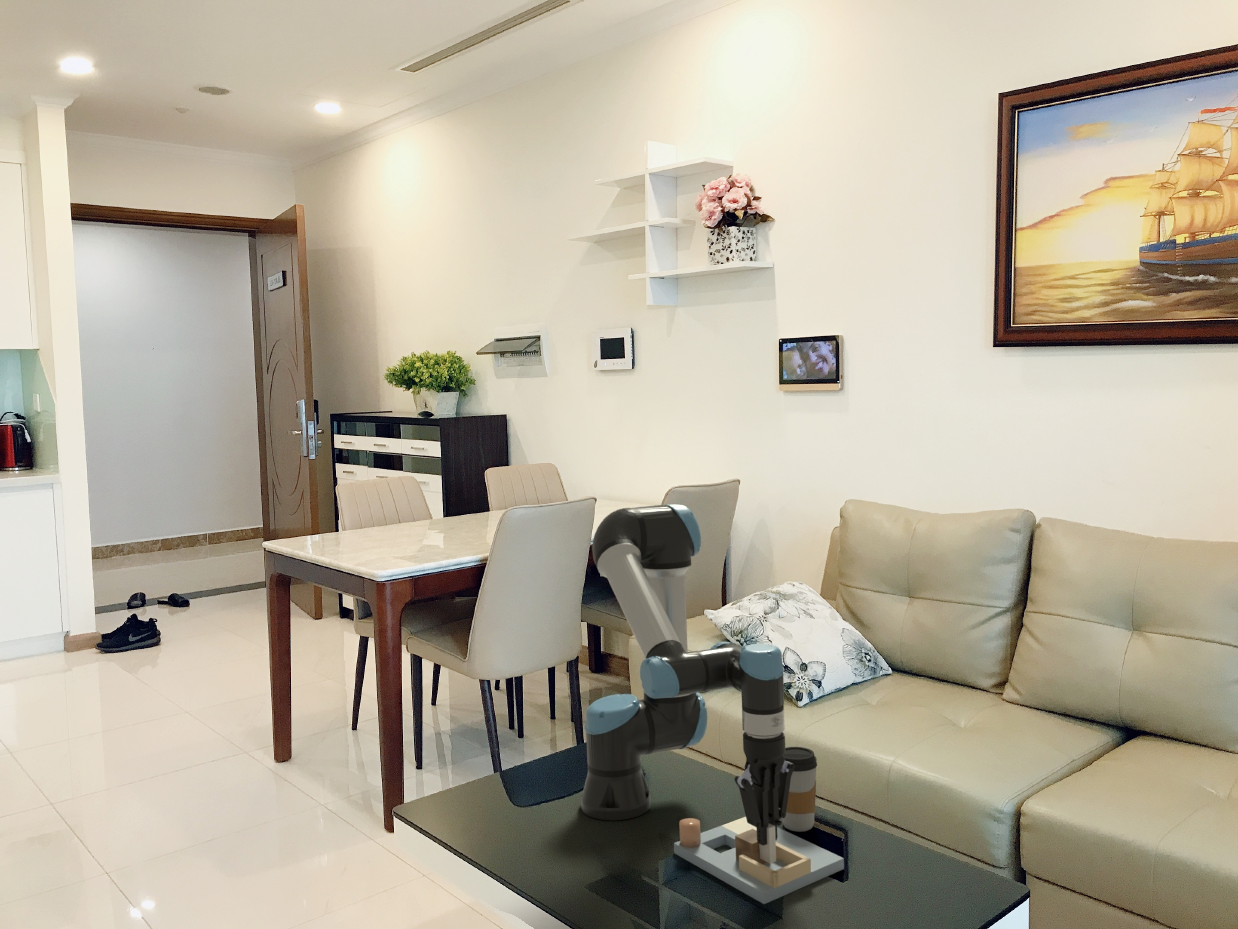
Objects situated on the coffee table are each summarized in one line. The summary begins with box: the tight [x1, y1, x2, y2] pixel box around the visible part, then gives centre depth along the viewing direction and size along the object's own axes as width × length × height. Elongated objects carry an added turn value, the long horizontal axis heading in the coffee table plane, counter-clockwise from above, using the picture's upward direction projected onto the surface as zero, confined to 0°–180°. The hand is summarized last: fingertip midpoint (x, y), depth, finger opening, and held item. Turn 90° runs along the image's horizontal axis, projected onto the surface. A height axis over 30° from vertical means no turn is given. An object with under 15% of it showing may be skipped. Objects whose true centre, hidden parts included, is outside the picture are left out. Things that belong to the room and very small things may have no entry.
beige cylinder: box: [678, 817, 702, 848], centre depth 186 cm, size 4×4×4 cm
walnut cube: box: [735, 829, 766, 864], centre depth 178 cm, size 4×4×4 cm
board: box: [673, 816, 845, 905], centre depth 182 cm, size 25×20×4 cm
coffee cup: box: [781, 746, 818, 832], centre depth 196 cm, size 8×8×15 cm
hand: (767, 859), depth 175 cm, fingers closed
